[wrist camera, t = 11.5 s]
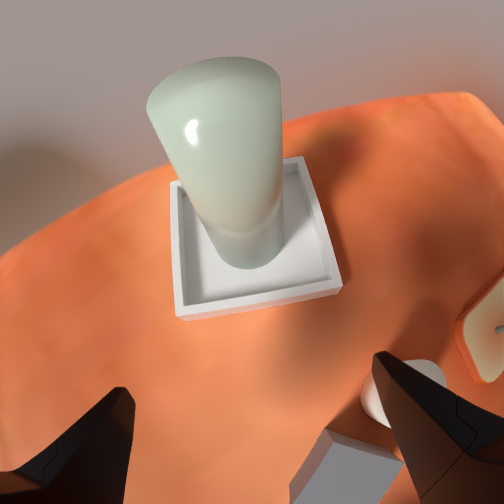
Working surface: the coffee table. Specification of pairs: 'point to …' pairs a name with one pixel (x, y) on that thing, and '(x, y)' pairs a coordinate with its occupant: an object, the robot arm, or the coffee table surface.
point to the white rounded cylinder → (370, 393)
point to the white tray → (259, 279)
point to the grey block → (344, 472)
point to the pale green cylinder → (227, 152)
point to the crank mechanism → (483, 334)
